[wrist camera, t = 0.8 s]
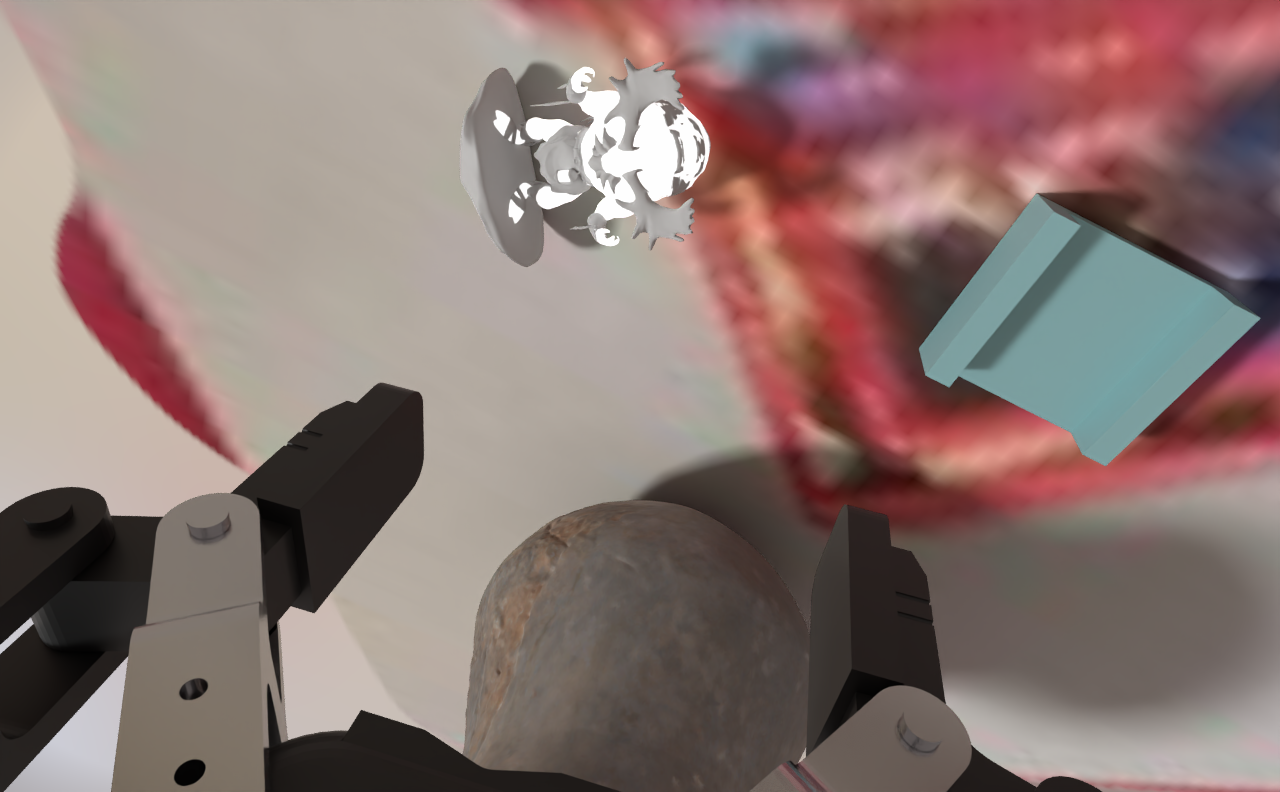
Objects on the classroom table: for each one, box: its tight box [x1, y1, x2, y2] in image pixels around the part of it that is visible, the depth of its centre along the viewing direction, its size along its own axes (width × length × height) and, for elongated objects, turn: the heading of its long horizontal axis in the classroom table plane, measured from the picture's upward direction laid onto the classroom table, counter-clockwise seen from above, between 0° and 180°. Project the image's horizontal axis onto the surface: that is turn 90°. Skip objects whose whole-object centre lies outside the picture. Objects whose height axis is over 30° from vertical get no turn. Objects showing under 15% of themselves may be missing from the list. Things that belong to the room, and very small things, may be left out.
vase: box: [463, 500, 810, 792], centre depth 38 cm, size 20×19×25 cm
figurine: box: [460, 58, 710, 267], centre depth 35 cm, size 9×6×12 cm
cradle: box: [919, 193, 1261, 466], centre depth 35 cm, size 9×10×3 cm
